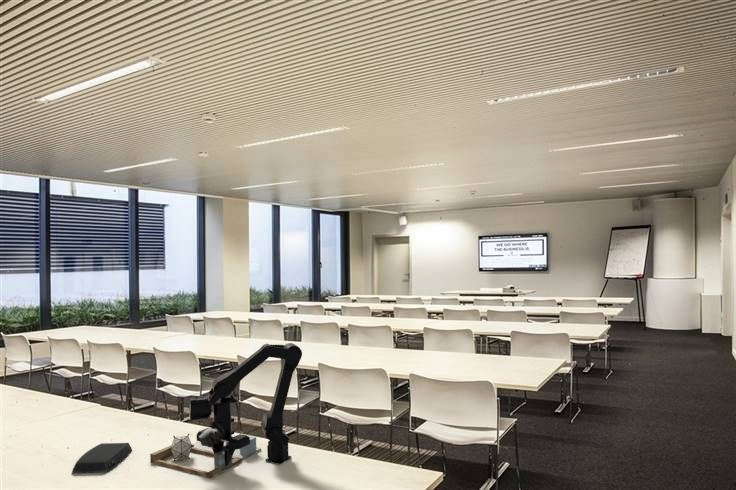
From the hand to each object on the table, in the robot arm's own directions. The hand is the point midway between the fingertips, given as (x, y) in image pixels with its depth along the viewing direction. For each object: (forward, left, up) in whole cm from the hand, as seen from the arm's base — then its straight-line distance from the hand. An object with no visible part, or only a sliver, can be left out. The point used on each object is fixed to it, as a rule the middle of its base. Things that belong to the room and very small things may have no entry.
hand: (223, 464), depth 175 cm
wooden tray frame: (+12, 0, -2) cm, 13 cm away
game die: (+19, 0, -2) cm, 19 cm away
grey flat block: (+12, -13, -2) cm, 18 cm away
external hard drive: (+42, +14, -2) cm, 45 cm away
